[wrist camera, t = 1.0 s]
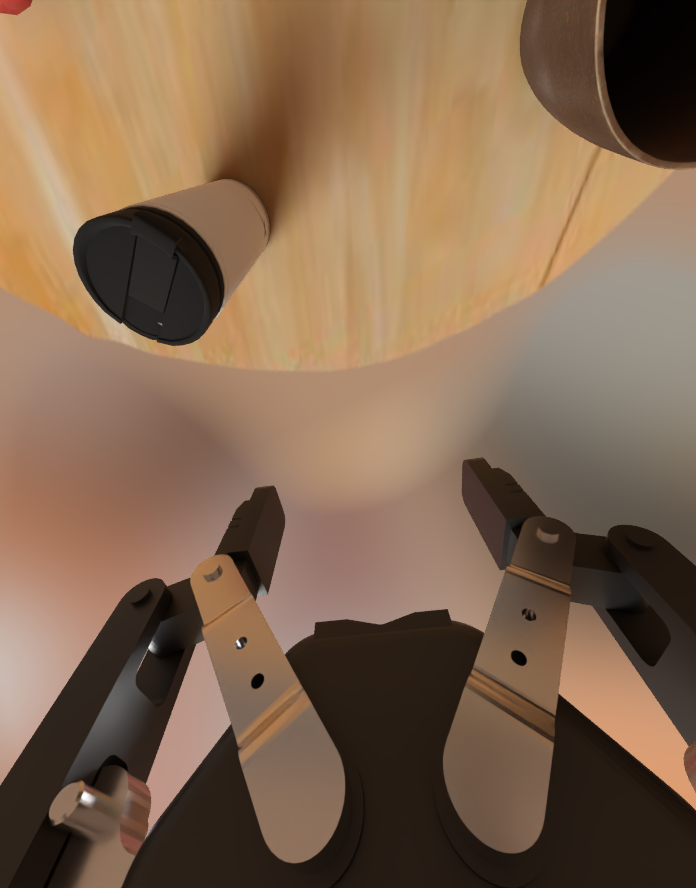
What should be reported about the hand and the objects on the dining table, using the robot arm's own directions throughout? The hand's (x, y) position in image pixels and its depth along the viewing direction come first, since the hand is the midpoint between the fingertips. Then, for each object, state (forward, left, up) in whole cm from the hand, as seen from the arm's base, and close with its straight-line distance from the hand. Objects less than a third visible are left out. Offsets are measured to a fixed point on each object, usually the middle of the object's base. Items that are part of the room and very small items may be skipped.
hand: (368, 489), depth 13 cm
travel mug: (-10, -7, -28) cm, 31 cm away
